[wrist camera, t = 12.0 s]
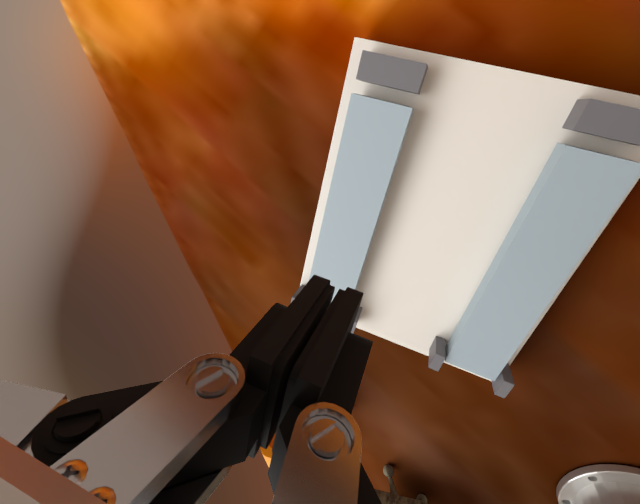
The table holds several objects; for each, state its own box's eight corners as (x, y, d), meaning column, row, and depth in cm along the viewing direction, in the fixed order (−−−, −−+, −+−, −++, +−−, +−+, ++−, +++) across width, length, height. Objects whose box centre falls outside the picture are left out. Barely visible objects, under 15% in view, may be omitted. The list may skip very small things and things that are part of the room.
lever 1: (349, 311, 37) (344, 321, 35) (309, 296, 38) (303, 305, 36) (414, 107, 26) (412, 108, 24) (357, 93, 27) (351, 93, 25)
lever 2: (491, 367, 34) (494, 381, 32) (444, 348, 35) (444, 361, 33) (631, 160, 23) (646, 164, 21) (557, 142, 24) (566, 145, 22)
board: (493, 364, 37) (501, 405, 32) (305, 291, 42) (286, 317, 37) (662, 106, 24) (724, 105, 19) (362, 43, 29) (345, 29, 24)
